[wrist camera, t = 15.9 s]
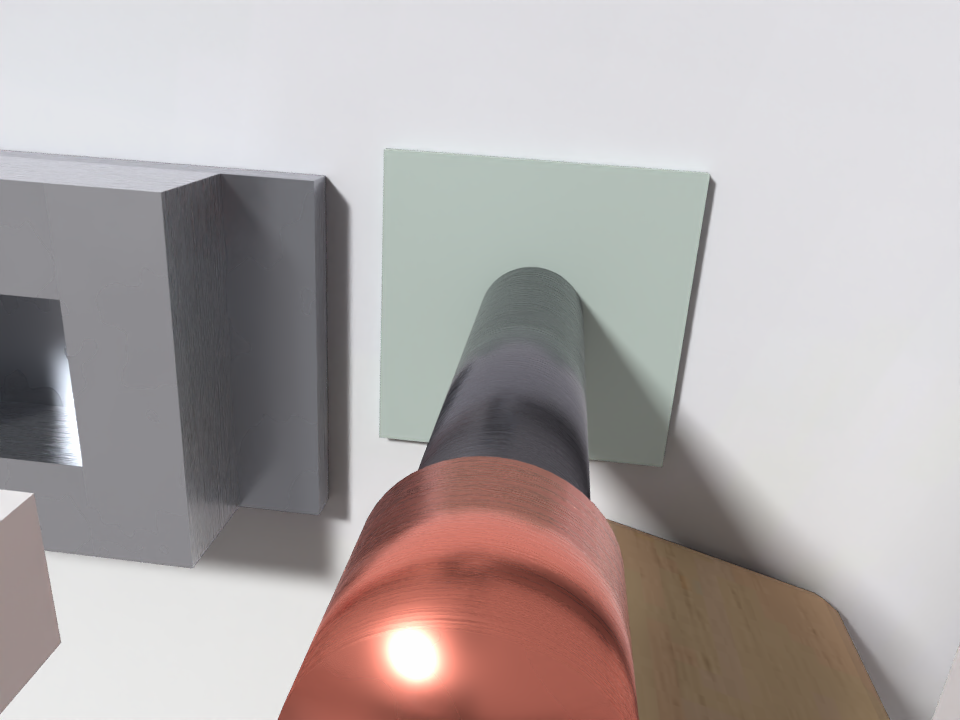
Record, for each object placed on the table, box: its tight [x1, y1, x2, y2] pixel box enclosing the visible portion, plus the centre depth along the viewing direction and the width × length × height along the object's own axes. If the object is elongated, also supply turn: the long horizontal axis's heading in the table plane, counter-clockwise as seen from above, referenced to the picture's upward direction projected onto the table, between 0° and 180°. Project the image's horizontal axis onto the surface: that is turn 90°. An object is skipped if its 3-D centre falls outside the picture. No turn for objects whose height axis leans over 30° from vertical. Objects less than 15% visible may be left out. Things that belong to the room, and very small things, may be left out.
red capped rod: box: [278, 267, 639, 720], centre depth 18 cm, size 4×4×18 cm
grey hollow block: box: [0, 150, 328, 568], centre depth 26 cm, size 12×15×5 cm
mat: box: [379, 148, 710, 467], centre depth 26 cm, size 10×10×1 cm
